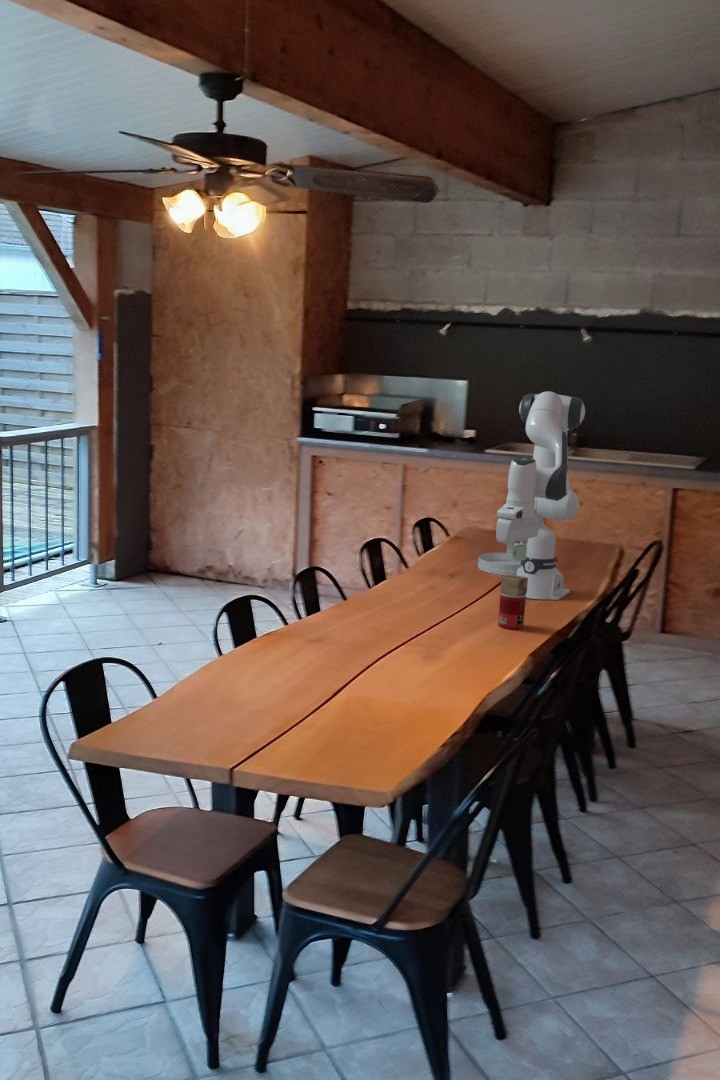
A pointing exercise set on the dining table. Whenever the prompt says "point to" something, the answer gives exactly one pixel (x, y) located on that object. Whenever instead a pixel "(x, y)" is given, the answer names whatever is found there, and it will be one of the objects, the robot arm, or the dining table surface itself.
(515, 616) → the canned food
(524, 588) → the walnut block
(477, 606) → the dining table surface
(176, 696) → the dining table surface
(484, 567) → the dish
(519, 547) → the sage cube
